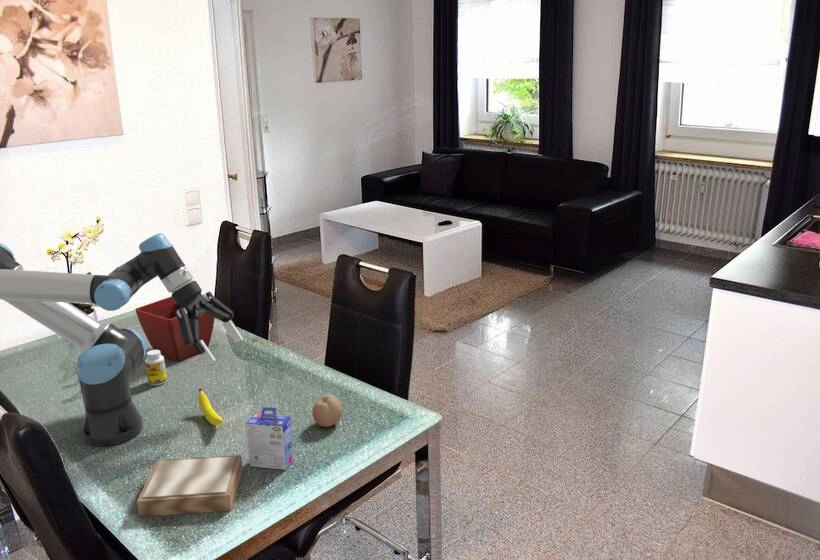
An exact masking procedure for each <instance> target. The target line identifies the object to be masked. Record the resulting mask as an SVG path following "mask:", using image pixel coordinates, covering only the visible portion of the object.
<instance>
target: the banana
mask: <svg viewBox="0 0 820 560" xmlns="http://www.w3.org/2000/svg"><path fill="white" fill-rule="evenodd" d="M198 391H199V394H198V404H199V407H200V410H201V412H202V414H203V415H204V417H205V420H207V422H208V423H210V425H212V426H219V427H220V426H221V425H223V422H224V419H222V417H221V416H220V415H219V414H218V412H216V411H215V410H214V409H213V407H212V404H211V402H210V400H209V398H208V396H207V394H205V392H204V391H202V388H199V389H198Z"/></svg>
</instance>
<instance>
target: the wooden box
mask: <svg viewBox="0 0 820 560" xmlns="http://www.w3.org/2000/svg"><path fill="white" fill-rule="evenodd" d="M243 468H244V467H243V461H242V454H236V455H220V456H219V455H217V456H206V457H205V456H204V457H187V458H173V459H157V460H156V461H155V464H154V465H153V467H152V470H151V471H150V474H149V476H148V477H147V479H146V482H145V483H144V486H143V488H142V491H141V492H140V494H139V496H138V498H137V501H136V504H137V510H138V516H139V517H140V516H144V517H156V516H157V515H159V516H169V515H170V514H171V515H172V514H173V515H184V514H185V515H187V514H186V513H188V514H200V513H215V512H217V513H218V512H228V511H229V512H230V511H232V510H233V505H234V502H235V499H236V495H237V491H238V488H239V485H240V481H241V477H242V473H243V470H244V469H243ZM151 515H152V516H151ZM155 515H156V516H155ZM171 515H170V516H171Z"/></svg>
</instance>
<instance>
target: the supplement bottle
mask: <svg viewBox="0 0 820 560" xmlns="http://www.w3.org/2000/svg"><path fill="white" fill-rule="evenodd" d="M144 359H145V360H144V365H145V370H146V375H147V376H146V377H147V383H148V384H149V385H150V386H161V385H163V384H166V382H167V381H168V376H167V369H166V363H165V357H164V356H162V355H161V353H160V351H159V350H154V349H151V350H149V351H146V358H144Z"/></svg>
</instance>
